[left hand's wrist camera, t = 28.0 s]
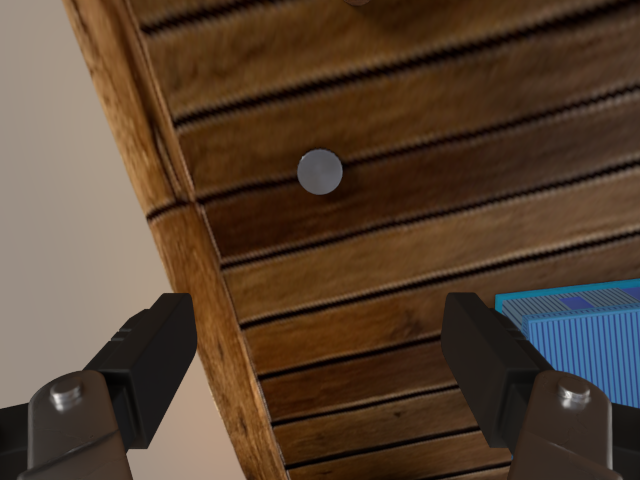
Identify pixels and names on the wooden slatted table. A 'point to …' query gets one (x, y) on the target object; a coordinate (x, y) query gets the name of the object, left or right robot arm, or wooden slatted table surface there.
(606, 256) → the wooden slatted table surface
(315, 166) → the lid
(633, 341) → the model building
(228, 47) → the wooden slatted table surface
